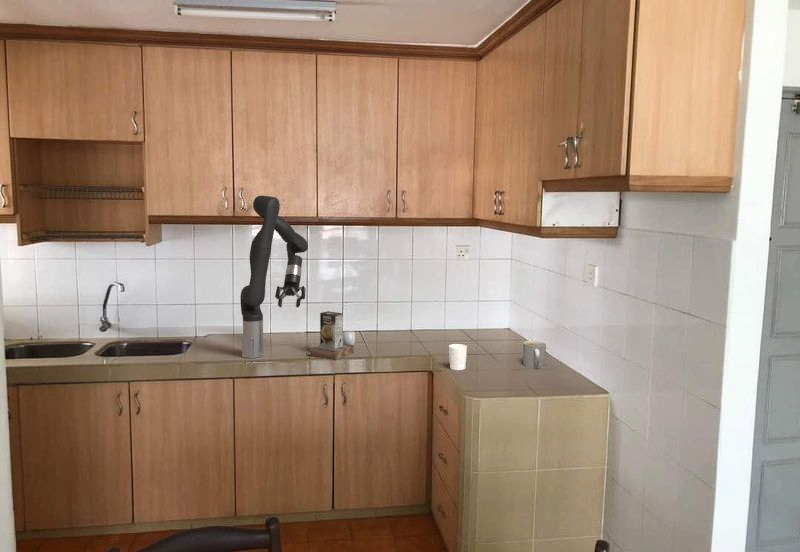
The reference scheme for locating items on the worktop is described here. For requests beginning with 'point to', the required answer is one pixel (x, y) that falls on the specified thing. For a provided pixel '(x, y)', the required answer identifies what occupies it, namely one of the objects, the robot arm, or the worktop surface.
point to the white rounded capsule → (349, 337)
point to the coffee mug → (534, 354)
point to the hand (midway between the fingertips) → (288, 306)
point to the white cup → (457, 356)
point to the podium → (332, 351)
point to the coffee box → (331, 329)
